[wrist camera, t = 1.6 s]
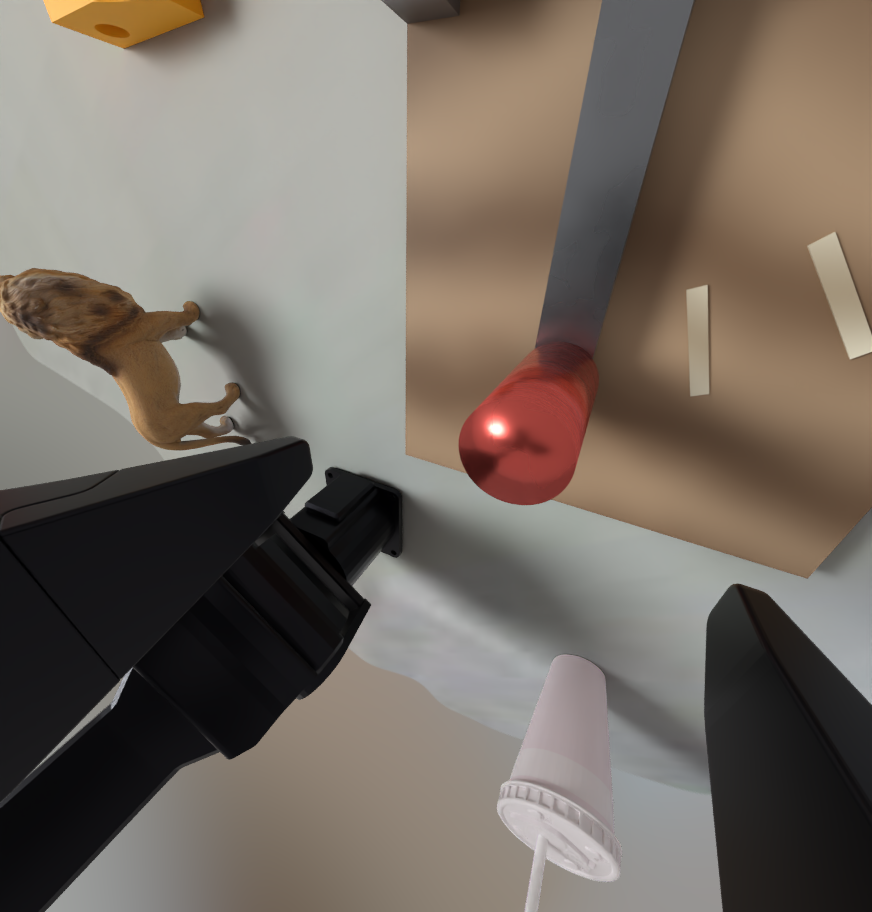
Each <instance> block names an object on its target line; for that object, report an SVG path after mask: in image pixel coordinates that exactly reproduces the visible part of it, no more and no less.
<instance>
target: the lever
mask: <svg viewBox="0 0 872 912" xmlns="http://www.w3.org/2000/svg"><path fill="white" fill-rule="evenodd" d="M694 4H695V0H602V4H601V9H600V14H599V19H598V24H597V30H596V35H595V40H594V45H593V50H592V55H591V61H590V66H589V71H588V76H587V81H586V86H585V91H584V97H583V102H582V107H581V112H580V117H579V122H578V128H577V133H576V138H575V143H574V148H573V153H572V159H571V164H570V169H569V174H568V179H567V184H566V189H565V195H564V200H563V205H562V210H561V215H560V220H559V226H558V231H557V236H556V241H555V246H554V251H553V257H552V262H551V267H550V272H549V277H548V282H547V287H546V293H545V298H544V303H543V308H542V313H541V318H540V324H539V329H538V334H537V339H536V344H535V349H534V350H532V351H531V352H530V353H529V354H528V355H527V356H526V357H525V358H524V359H523V360H522V361H521V362H520V363H519V364H518V365H517V366H516V367H515V369H514V370H513V371H512V372H511V373H510V374H509V375H508V376H507V377H506V378H505V379H504V380H503V381H502V382H501V383H500V384H499V385H498V386H497V387H496V388H495V389H494V391H493V392H492V393H491V394H490V395H489V396H488V397H487V398H486V399H485V400H484V401H483V402H482V403H481V404H480V405H479V406H478V407H477V408H476V409H475V410H474V411H473V413H472V414H471V415H470V416H469V417H468V418H467V419H466V421H465V422H464V424H463V426H462V428H461V432H460V435H459V444H458V448H459V455H460V459H461V462H462V464H463V467H464V469H465V471H466V472H467V474H468V475H469V477H470V478H471V479H472V480H473V482H474V483H475V484H476V485H477V486H478V487H479V488H481V489H482V490H483V491H484V492H486V493H487V494H489V495H491V496H492V497H494V498H496V499H499V500H501V501H504V502H507V503H511V504H517V505H534V504H539V503H543V502H546V501H548V500H550V499H553V498H554V497H556V496H557V495H559V494H560V493H561V492H562V491H563V490H564V489H565V488H566V487H567V486H568V484H569V483H570V481H571V480H572V477H573V475H574V472H575V468H576V465H577V461H578V458H579V454H580V451H581V447H582V444H583V440H584V437H585V433H586V429H587V426H588V422H589V419H590V415H591V412H592V408H593V405H594V401H595V398H596V394H597V390H598V386H599V373H598V369H597V367H596V364H595V362H594V360H593V358H594V355H595V351H596V348H597V344H598V341H599V337H600V334H601V330H602V327H603V323H604V320H605V316H606V313H607V309H608V306H609V302H610V299H611V295H612V292H613V288H614V285H615V281H616V278H617V274H618V271H619V267H620V264H621V260H622V257H623V253H624V250H625V246H626V243H627V239H628V235H629V232H630V228H631V225H632V221H633V218H634V214H635V211H636V207H637V204H638V200H639V197H640V193H641V190H642V186H643V183H644V179H645V176H646V172H647V169H648V165H649V162H650V158H651V155H652V151H653V148H654V144H655V141H656V137H657V134H658V130H659V127H660V123H661V120H662V116H663V113H664V109H665V106H666V102H667V98H668V95H669V91H670V88H671V84H672V81H673V77H674V74H675V70H676V67H677V63H678V60H679V56H680V53H681V49H682V46H683V42H684V39H685V35H686V32H687V28H688V25H689V21H690V18H691V14H692V11H693V7H694Z"/></svg>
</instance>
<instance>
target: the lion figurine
mask: <svg viewBox="0 0 872 912" xmlns="http://www.w3.org/2000/svg"><path fill="white" fill-rule="evenodd" d="M183 307H184V311H183V312H171V311H156V312H147V313H146V312H145V311H144V309H143V308H142V307H140V306H139V305H138V304H137V303H136V302H135V300H134V299H133V297H132V296H131V294H129V293H127V292H124V291H122V290H121V289H120V288H119V287H117V286H112V285H108V284H104V283H100V282H98V281H96V280H93V279H90V278H88V277H86V276H84V275H80V274H77V273H66V272H62V271H57V270H46V269H36V268H31V269H29V270H26V271H24V272H22V273H21V274H19V275H17V276H12V275H5V276H0V312H1V313H2V314H3V316H4V317H5V319H6V320H7V321H8V322H9V323H11V324H13V325H15V326H17V327H18V329H19V330H20V331H22V332H24V333H26V334H28V335H29V336H30V337H31V338H34V339H43V338H44V339H46V340H52V341H53V342H54V343H55V344H56V345H58V346H60V347H62V348H66V349H67V350H69V351H70V352H71V353H72V354H74V355H75V356H77V357H79V358H81V359H83V360H86V361H88V362H90V363H91V364H93V365H96V366H98V367H100V368H102V369H104V370H105V371H106V372H107V373H109V374H110V375H112V376H113V378H114V379H115V381H116V382H117V384H118V385H119V387H120V389H121V391H122V392H123V394H124V396H125V398H126V400H127V403H128V406H129V410H130V414H131V419H132V422H133V425H134V426H135V428H136V429H137V431H138V432H139V433H140V434H141V435H142V436H143V437H144V438H145V439H146V440H147V441H148V442H150V443H151V444H153V445H155V446H157V447H160V448H163V449H167V450H189V449H195V448H200V447H205V446H209V445H214V444H219V443H224V442H233V443H238V444H240V445H243V446H244V445H249V444H251V442H250V440H248V439H247V438H244V437H239V436H222V437H217V436H221V435H224V434H227V433H229V432H231V431H232V429H233V423H232V421H231V419H230V418H228V417H227V416H223V417H221V418H220V424H221V425H220V426H219V427H214V426H210V425H208V424H206V423H204V421H205V420H206V419H208V418H209V417H211V416H213V415H221V414H224V413H226V412H227V410H228V409H229V408H230V406H231V405H232V404H233V403H234V402H235V401H236V400H237V399H238V398H239V395H240V390H239V387H238V386H237V385H236V384H235V383H228V384H226V385H225V390H226V396H225V397H224V398H223V399H222V400H220V401H218V402H215V403H199V402H194V403H188V404H180V403H179V393H180V387H181V383H180V376H179V372H178V369H177V367H176V365H175V362H174V360H173V359H172V358H171V356H170V354H169V353H168V352H167V350H166V349H165V347H164V346H163V345H162V342H165V341H169V340H177V339H181V338H182V337H183V336H185V335H186V333H187V330H186V327H185V326H189V325H191V324H192V323H193V322H195V321H196V320H197V319H198V318H199V308H198V306H197V305H196V304H195V303H194V302H191V301H187V302H185V304H184V305H183ZM186 435H199V436H202V437H204V438H207V439H200V440H191V441H181V439H180V438H182V437H184V436H186ZM214 437H215V438H214Z"/></svg>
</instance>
